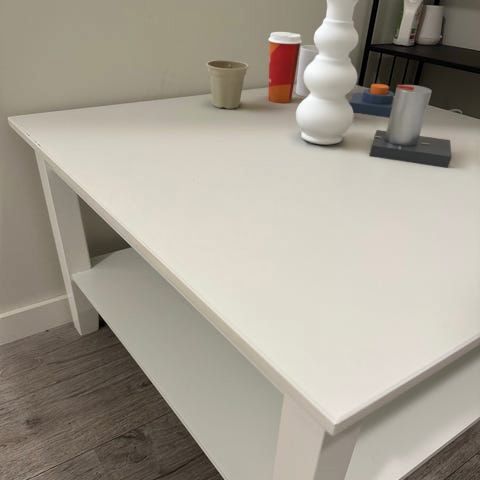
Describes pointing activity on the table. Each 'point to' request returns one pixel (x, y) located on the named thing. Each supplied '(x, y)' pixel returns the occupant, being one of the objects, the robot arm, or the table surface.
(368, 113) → the block
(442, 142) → the control panel
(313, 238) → the table surface
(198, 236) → the table surface
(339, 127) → the vase
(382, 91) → the button
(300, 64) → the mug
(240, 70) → the flower pot
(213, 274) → the table surface
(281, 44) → the paper cup
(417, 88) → the dial
